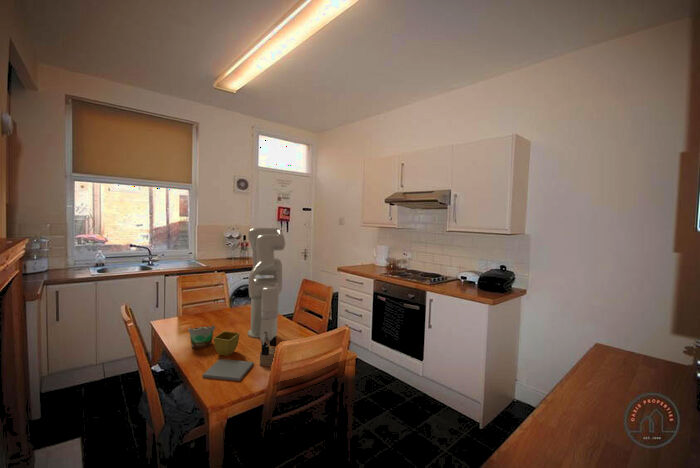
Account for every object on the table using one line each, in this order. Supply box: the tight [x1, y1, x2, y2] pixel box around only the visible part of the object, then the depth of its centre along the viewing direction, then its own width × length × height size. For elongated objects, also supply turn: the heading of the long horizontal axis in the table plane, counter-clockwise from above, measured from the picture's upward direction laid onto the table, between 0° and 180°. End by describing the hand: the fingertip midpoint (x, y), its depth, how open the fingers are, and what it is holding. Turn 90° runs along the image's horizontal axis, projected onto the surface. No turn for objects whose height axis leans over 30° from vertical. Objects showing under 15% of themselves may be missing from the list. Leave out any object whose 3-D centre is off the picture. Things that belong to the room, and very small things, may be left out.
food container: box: [187, 324, 216, 350], centre depth 158 cm, size 12×6×10 cm, turn 117°
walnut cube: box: [259, 346, 276, 367], centre depth 145 cm, size 6×6×6 cm
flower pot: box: [213, 330, 240, 357], centre depth 152 cm, size 9×9×9 cm
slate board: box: [202, 358, 255, 382], centre depth 137 cm, size 14×16×1 cm
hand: (269, 350), depth 144 cm, fingers open, 9 cm apart
